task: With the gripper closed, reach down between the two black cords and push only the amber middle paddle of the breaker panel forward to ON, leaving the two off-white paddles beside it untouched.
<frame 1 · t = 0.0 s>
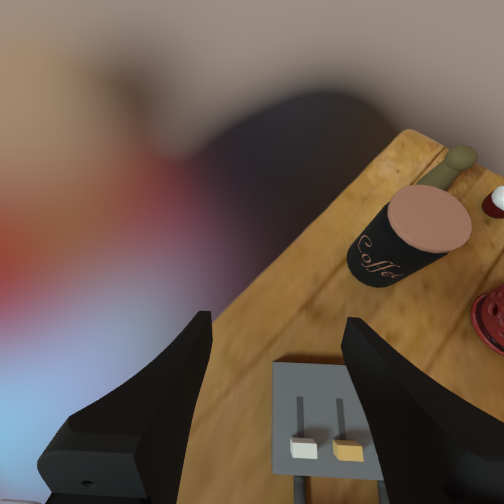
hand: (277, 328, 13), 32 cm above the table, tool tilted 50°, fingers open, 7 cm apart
paddle middle: (347, 450, 33), point 5 cm above the table, slide at 0.0 cm
coffee jar: (370, 264, 49), on the table
breaker panel: (334, 412, 38), on the table
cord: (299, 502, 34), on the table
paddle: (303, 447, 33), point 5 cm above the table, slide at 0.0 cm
plant pot: (495, 324, 44), on the table
cork: (429, 188, 57), on the table
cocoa: (490, 211, 54), on the table
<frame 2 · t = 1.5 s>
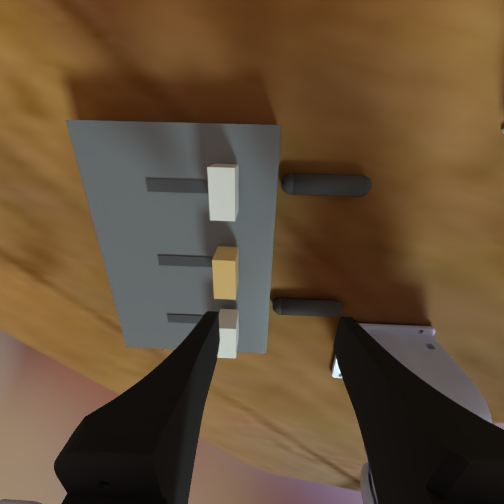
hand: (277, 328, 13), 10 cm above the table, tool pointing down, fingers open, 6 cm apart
paddle middle: (226, 272, 18), point 5 cm above the table, slide at 0.0 cm
breaker panel: (195, 246, 22), on the table
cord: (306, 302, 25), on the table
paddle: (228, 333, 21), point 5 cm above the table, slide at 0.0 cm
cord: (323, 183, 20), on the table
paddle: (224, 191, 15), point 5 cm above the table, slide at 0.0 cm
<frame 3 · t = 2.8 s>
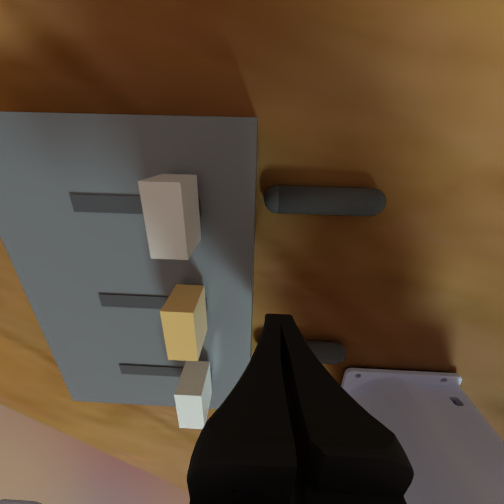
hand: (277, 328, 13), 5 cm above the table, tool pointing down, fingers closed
paddle middle: (186, 321, 13), point 5 cm above the table, slide at 0.0 cm
breaker panel: (157, 276, 17), on the table
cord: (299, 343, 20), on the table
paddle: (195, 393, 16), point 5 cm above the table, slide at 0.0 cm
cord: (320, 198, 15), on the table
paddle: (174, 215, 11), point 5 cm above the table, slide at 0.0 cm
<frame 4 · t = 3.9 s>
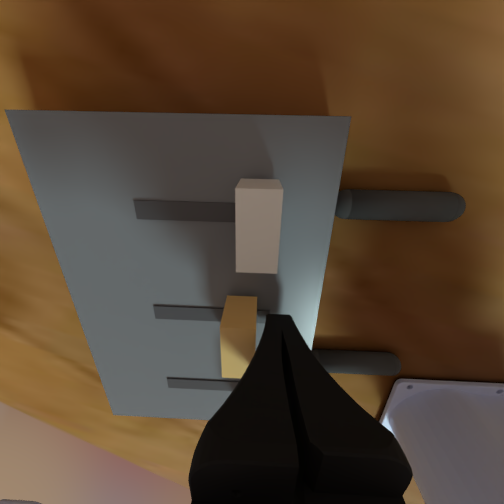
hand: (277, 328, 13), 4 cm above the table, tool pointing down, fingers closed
paddle middle: (240, 335, 12), point 5 cm above the table, slide at 0.7 cm, touching gripper
breaker panel: (205, 284, 16), on the table
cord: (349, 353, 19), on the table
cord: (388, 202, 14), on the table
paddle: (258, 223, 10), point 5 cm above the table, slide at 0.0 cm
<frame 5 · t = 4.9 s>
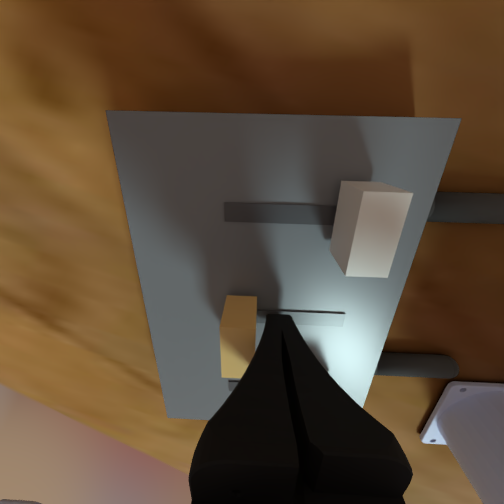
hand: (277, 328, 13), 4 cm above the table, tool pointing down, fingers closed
paddle middle: (239, 335, 12), point 5 cm above the table, slide at 4.9 cm, touching gripper
breaker panel: (266, 287, 16), on the table
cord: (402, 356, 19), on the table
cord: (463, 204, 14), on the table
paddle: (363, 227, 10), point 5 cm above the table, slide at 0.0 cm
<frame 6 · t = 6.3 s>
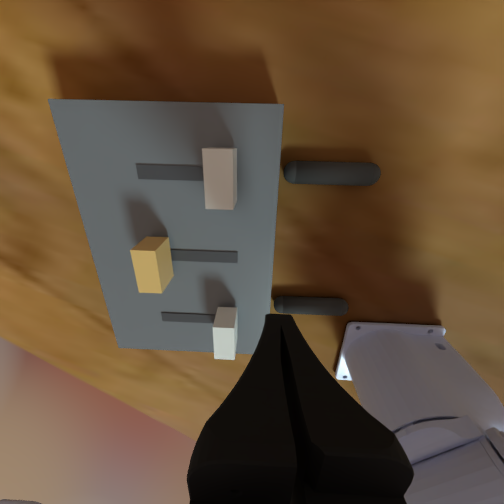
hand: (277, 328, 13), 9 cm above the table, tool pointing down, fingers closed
paddle middle: (154, 264, 17), point 5 cm above the table, slide at 4.9 cm
breaker panel: (191, 240, 21), on the table
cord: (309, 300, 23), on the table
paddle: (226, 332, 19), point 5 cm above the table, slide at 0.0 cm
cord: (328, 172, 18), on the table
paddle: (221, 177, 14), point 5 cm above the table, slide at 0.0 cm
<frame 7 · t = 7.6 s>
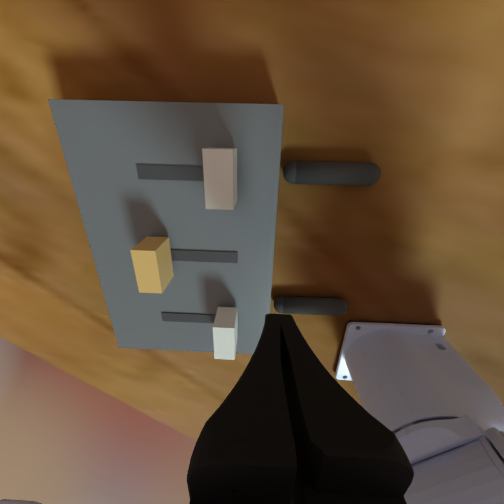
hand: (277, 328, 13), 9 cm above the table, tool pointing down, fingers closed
paddle middle: (154, 264, 17), point 5 cm above the table, slide at 4.9 cm
breaker panel: (192, 240, 21), on the table
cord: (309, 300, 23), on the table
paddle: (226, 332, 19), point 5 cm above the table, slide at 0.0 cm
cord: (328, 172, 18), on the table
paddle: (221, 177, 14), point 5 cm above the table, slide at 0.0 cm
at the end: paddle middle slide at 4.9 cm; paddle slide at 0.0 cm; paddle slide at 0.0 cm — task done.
